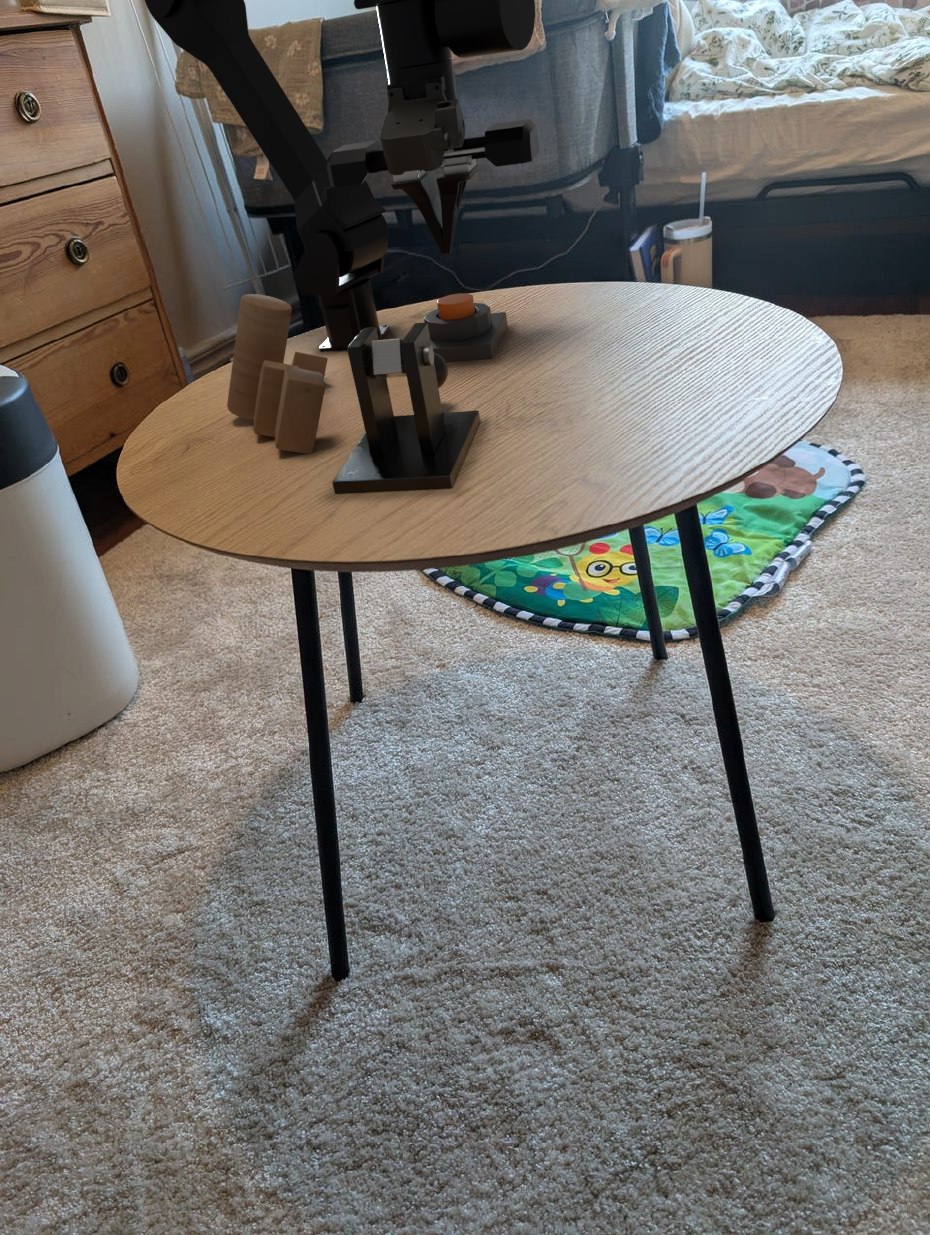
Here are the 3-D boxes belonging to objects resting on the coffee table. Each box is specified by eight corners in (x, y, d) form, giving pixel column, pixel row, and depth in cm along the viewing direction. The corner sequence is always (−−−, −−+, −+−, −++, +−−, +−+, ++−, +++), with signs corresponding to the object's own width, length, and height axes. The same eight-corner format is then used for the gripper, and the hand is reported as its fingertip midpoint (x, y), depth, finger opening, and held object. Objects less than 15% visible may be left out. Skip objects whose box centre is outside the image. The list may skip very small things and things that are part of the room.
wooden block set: (330, 477, 75) (354, 358, 70) (224, 460, 73) (241, 336, 67) (316, 397, 90) (335, 294, 84) (227, 381, 87) (241, 274, 82)
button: (443, 312, 91) (441, 295, 90) (478, 309, 91) (475, 291, 90) (436, 323, 89) (433, 305, 88) (471, 320, 88) (469, 302, 87)
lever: (417, 393, 78) (415, 355, 77) (453, 390, 77) (451, 352, 76) (366, 381, 65) (363, 335, 65) (409, 377, 64) (406, 331, 64)
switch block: (434, 334, 96) (429, 301, 94) (508, 328, 94) (503, 294, 92) (413, 367, 88) (406, 332, 86) (492, 361, 86) (487, 325, 84)
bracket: (377, 430, 76) (352, 314, 71) (480, 423, 74) (463, 303, 69) (335, 496, 67) (302, 369, 61) (452, 491, 65) (429, 358, 59)
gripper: (287, 90, 73) (330, 286, 82) (511, 55, 69) (532, 266, 78) (329, 76, 82) (364, 254, 91) (530, 44, 78) (547, 235, 86)
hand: (446, 252), depth 86 cm, fingers closed
